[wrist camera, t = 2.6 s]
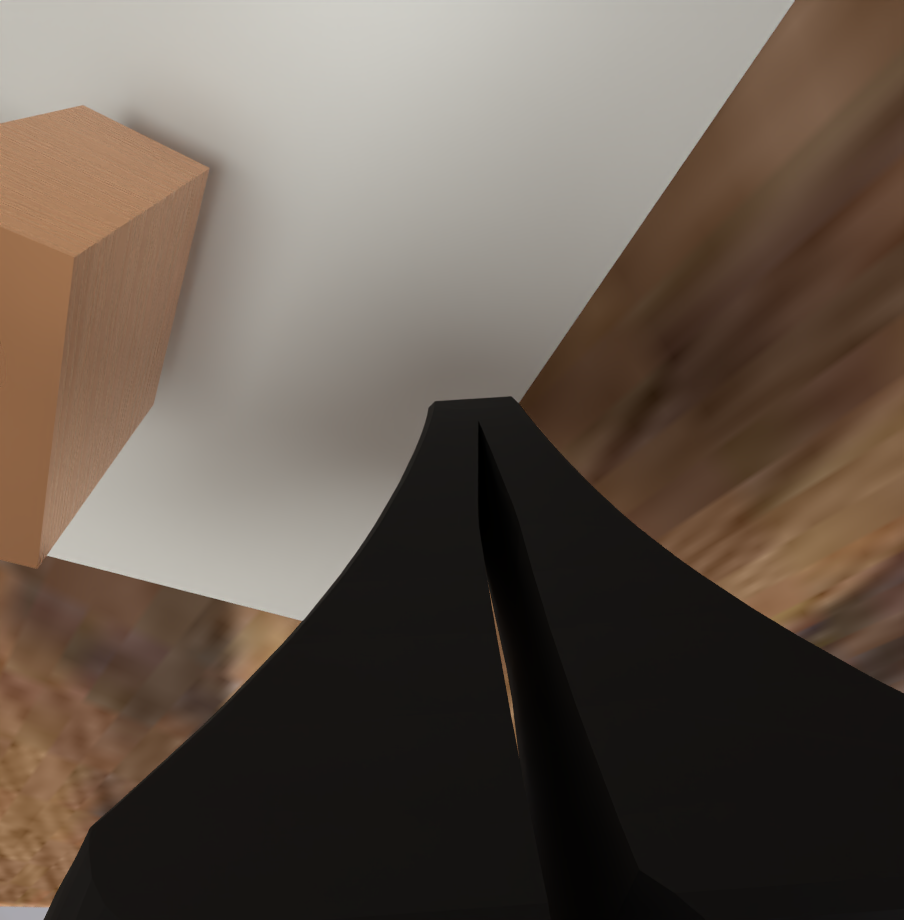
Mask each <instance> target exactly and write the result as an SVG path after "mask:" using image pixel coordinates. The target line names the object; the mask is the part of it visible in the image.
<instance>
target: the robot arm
mask: <svg viewBox="0 0 904 920" xmlns="http://www.w3.org/2000/svg"><path fill="white" fill-rule="evenodd" d="M487 580H488V581H487ZM488 585H489V587H488ZM489 590H490V593H489ZM490 594H491V599H492V603H493V608H494V612H495V617H496V622H497V626H498V631H499V635H500V640H501V645H502V649H503V654H504V658H505V663H506V668H507V673H508V679H509V684H510V690H511V696H512V703H513V711H514V719H515V727H516V735H517V743H518V749H517V744H516V739H515V734H514V729H513V723H512V718H511V713H510V708H509V702H508V696H507V691H506V685H505V680H504V674H503V669H502V663H501V657H500V652H499V646H498V641H497V635H496V629H495V623H494V617H493V611H492V605H491V599H490ZM518 752H519V754H518ZM44 920H904V693H902V692H900V691H898V690H896V689H894V688H892V687H890V686H888V685H886V684H884V683H882V682H880V681H878V680H876V679H874V678H873V677H871V676H869V675H867V674H865V673H863V672H861V671H860V670H858V669H856V668H854V667H853V666H851V665H849V664H847V663H845V662H844V661H842V660H840V659H838V658H837V657H835V656H833V655H831V654H829V653H828V652H826V651H824V650H822V649H821V648H819V647H817V646H815V645H813V644H812V643H810V642H808V641H806V640H805V639H803V638H801V637H799V636H797V635H796V634H794V633H792V632H791V631H789V630H788V629H786V628H784V627H783V626H781V625H779V624H778V623H776V622H774V621H773V620H771V619H769V618H768V617H766V616H764V615H763V614H761V613H759V612H758V611H756V610H755V609H753V608H751V607H750V606H748V605H747V604H745V603H744V602H742V601H741V600H739V599H738V598H736V597H735V596H733V595H732V594H730V593H728V592H727V591H725V590H724V589H722V588H721V587H719V586H718V585H716V584H715V583H713V582H712V581H710V580H709V579H707V578H706V577H704V576H703V575H701V574H700V573H698V572H697V571H696V570H694V569H693V568H691V567H690V566H688V565H687V564H686V563H684V562H683V561H681V560H680V559H679V558H677V557H676V556H675V555H673V554H672V553H671V552H669V551H668V550H667V549H665V548H664V547H663V546H662V545H660V544H659V543H658V542H656V541H655V540H654V539H652V538H651V537H650V536H649V535H647V534H646V533H645V532H643V531H642V530H641V529H640V528H638V527H637V526H636V525H635V524H634V523H632V522H631V521H630V520H629V519H628V518H627V517H626V516H624V515H623V514H622V513H621V512H620V511H619V510H618V509H616V508H615V507H614V506H613V505H612V504H611V503H610V502H609V501H608V500H607V499H606V498H604V497H603V496H602V495H601V494H600V493H599V492H598V491H597V490H596V489H595V488H594V487H593V486H592V485H591V484H590V483H589V482H588V481H587V480H586V479H585V478H584V477H583V476H582V475H581V474H580V473H579V472H578V471H577V470H576V469H575V468H574V467H573V466H572V465H571V464H570V463H569V462H568V461H567V460H566V459H565V458H564V456H563V455H562V454H561V453H560V452H559V451H558V450H557V449H556V448H555V447H554V446H553V445H552V443H551V442H550V441H549V440H548V439H547V438H546V436H545V435H544V434H543V433H542V432H541V431H540V429H539V428H538V427H537V426H536V425H535V423H534V422H533V421H532V420H531V419H530V417H529V416H528V415H527V414H526V412H525V411H524V410H523V408H522V407H521V406H520V404H519V403H518V402H517V401H516V400H515V399H514V398H513V397H512V396H507V397H491V398H475V399H460V400H444V401H435V402H434V403H433V404H432V405H431V406H430V407H429V408H428V413H427V417H426V421H425V424H424V427H423V430H422V433H421V436H420V438H419V441H418V443H417V446H416V448H415V450H414V453H413V455H412V457H411V459H410V461H409V463H408V465H407V467H406V469H405V471H404V473H403V476H402V478H401V480H400V482H399V483H398V485H397V487H396V489H395V491H394V492H393V494H392V496H391V498H390V499H389V501H388V503H387V505H386V506H385V508H384V510H383V511H382V513H381V515H380V517H379V518H378V520H377V522H376V523H375V525H374V526H373V528H372V530H371V531H370V533H369V534H368V536H367V537H366V539H365V540H364V542H363V543H362V545H361V546H360V548H359V549H358V550H357V552H356V553H355V555H354V556H353V557H352V559H351V560H350V562H349V563H348V564H347V566H346V567H345V569H344V570H343V571H342V573H341V574H340V575H339V577H338V578H337V579H336V581H335V582H334V583H333V584H332V585H331V587H330V588H329V589H328V590H327V592H326V593H325V594H324V595H323V597H322V598H321V599H320V600H319V602H318V603H317V604H316V605H315V607H314V608H313V609H312V610H311V612H310V613H309V614H308V615H307V616H306V618H305V619H304V620H303V621H302V622H301V623H300V625H299V626H298V627H297V628H296V629H295V630H294V631H293V633H292V634H291V635H290V636H289V637H288V638H287V639H286V640H285V642H284V643H283V644H282V645H281V646H280V647H279V648H278V649H277V650H276V651H275V652H274V653H273V654H272V655H271V656H270V657H269V658H268V659H267V660H266V662H265V663H264V664H263V665H262V666H261V667H260V668H259V669H258V670H257V671H256V672H255V673H254V674H253V675H252V676H251V677H250V678H249V679H248V680H247V681H246V682H245V683H244V684H243V685H242V687H241V688H240V689H239V690H238V691H237V692H236V693H235V694H234V695H233V696H232V697H231V698H230V699H229V700H228V701H227V702H226V703H225V704H224V705H223V706H222V707H221V708H220V709H219V710H218V711H217V712H216V713H215V714H214V715H213V716H212V717H211V718H210V719H209V720H208V721H207V722H206V723H205V724H204V725H203V726H202V727H201V728H200V729H198V730H197V731H196V732H195V733H194V734H193V735H192V736H191V737H190V738H189V739H187V740H186V741H185V742H184V743H183V744H182V745H181V746H180V747H179V748H178V749H177V750H175V751H174V752H173V753H172V754H171V755H170V756H169V757H168V758H167V759H166V760H164V761H163V762H162V763H161V764H160V765H159V766H158V767H157V768H156V769H155V770H153V771H152V772H151V773H150V774H149V775H148V776H147V777H146V778H145V779H144V780H143V781H141V782H140V783H139V784H138V785H137V786H136V787H135V788H134V789H133V790H132V791H130V792H129V793H128V794H127V795H126V796H125V797H124V798H123V799H122V800H121V801H119V802H118V803H117V804H116V805H115V806H114V807H113V808H112V809H110V810H109V811H108V812H107V813H106V814H105V815H104V816H103V817H101V818H100V819H99V820H98V821H97V822H96V823H95V824H94V825H92V826H91V828H90V829H89V831H88V833H87V835H86V837H85V840H84V842H83V844H82V846H81V848H80V850H79V852H78V854H77V856H76V858H75V860H74V862H73V864H72V865H71V867H70V869H69V871H68V873H67V874H66V876H65V878H64V880H63V882H62V883H61V885H60V887H59V889H58V891H57V892H56V895H55V897H54V899H53V901H52V903H51V905H50V907H49V910H48V912H47V914H46V916H45V918H44Z"/></svg>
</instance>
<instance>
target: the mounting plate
mask: <svg viewBox="0 0 904 920" xmlns="http://www.w3.org/2000/svg"><path fill="white" fill-rule="evenodd" d="M794 1H795V0H0V123H4V122H9V121H13V120H18V119H22V118H27V117H31V116H36V115H41V114H45V113H50V112H54V111H59V110H63V109H68V108H72V107H77V106H81V105H84V106H86V107H88V108H90V109H92V110H94V111H96V112H98V113H100V114H102V115H104V116H106V117H108V118H110V119H112V120H114V121H116V122H118V123H120V124H122V125H124V126H126V127H128V128H130V129H132V130H134V131H136V132H138V133H140V134H142V135H144V136H146V137H148V138H150V139H152V140H154V141H156V142H158V143H160V144H162V145H164V146H166V147H168V148H170V149H172V150H174V151H176V152H178V153H181V154H183V155H185V156H187V157H189V158H191V159H193V160H195V161H197V162H199V163H201V164H203V165H205V166H207V167H209V168H210V169H209V173H208V177H207V181H206V186H205V190H204V194H203V198H202V202H201V207H200V211H199V215H198V219H197V224H196V228H195V232H194V236H193V240H192V245H191V249H190V253H189V257H188V261H187V266H186V270H185V274H184V278H183V282H182V287H181V291H180V295H179V299H178V304H177V308H176V312H175V316H174V320H173V325H172V329H171V333H170V337H169V341H168V346H167V350H166V354H165V358H164V362H163V367H162V371H161V375H160V379H159V383H158V388H157V392H156V396H155V400H154V404H153V406H152V407H151V409H150V410H149V411H148V413H147V414H146V416H145V417H144V419H143V420H142V421H141V423H140V424H139V426H138V427H137V428H136V430H135V431H134V433H133V434H132V436H131V437H130V438H129V440H128V441H127V443H126V444H125V445H124V447H123V448H122V450H121V451H120V452H119V454H118V455H117V457H116V458H115V460H114V461H113V462H112V464H111V465H110V467H109V468H108V469H107V471H106V472H105V474H104V475H103V477H102V478H101V479H100V481H99V482H98V484H97V485H96V486H95V488H94V489H93V491H92V492H91V494H90V495H89V496H88V498H87V499H86V501H85V502H84V503H83V505H82V506H81V508H80V509H79V510H78V512H77V513H76V515H75V516H74V518H73V519H72V520H71V522H70V523H69V525H68V526H67V527H66V529H65V530H64V532H63V533H62V535H61V536H60V537H59V539H58V540H57V542H56V543H55V544H54V546H53V547H52V549H51V550H50V552H49V553H48V554H47V556H51V557H55V558H59V559H63V560H66V561H70V562H74V563H78V564H82V565H86V566H90V567H94V568H98V569H102V570H106V571H109V572H113V573H117V574H121V575H125V576H129V577H133V578H137V579H141V580H145V581H149V582H152V583H156V584H160V585H164V586H168V587H172V588H176V589H180V590H184V591H188V592H192V593H195V594H199V595H203V596H207V597H211V598H215V599H219V600H223V601H227V602H231V603H234V604H238V605H242V606H246V607H250V608H254V609H258V610H262V611H266V612H270V613H274V614H277V615H281V616H285V617H289V618H293V619H297V620H301V621H303V620H304V619H305V618H306V616H307V615H308V614H309V613H310V612H311V610H312V609H313V608H314V607H315V605H316V604H317V603H318V602H319V600H320V599H321V598H322V597H323V595H324V594H325V593H326V592H327V590H328V589H329V588H330V587H331V585H332V584H333V583H334V582H335V581H336V579H337V578H338V577H339V575H340V574H341V573H342V571H343V570H344V569H345V567H346V566H347V564H348V563H349V562H350V560H351V559H352V557H353V556H354V555H355V553H356V552H357V550H358V549H359V548H360V546H361V545H362V543H363V542H364V540H365V539H366V537H367V536H368V534H369V533H370V531H371V530H372V528H373V526H374V525H375V523H376V522H377V520H378V518H379V517H380V515H381V513H382V511H383V510H384V508H385V506H386V505H387V503H388V501H389V499H390V498H391V496H392V494H393V492H394V491H395V489H396V487H397V485H398V483H399V482H400V480H401V478H402V476H403V473H404V471H405V469H406V467H407V465H408V463H409V461H410V459H411V457H412V455H413V453H414V450H415V448H416V446H417V443H418V441H419V438H420V436H421V433H422V430H423V427H424V424H425V421H426V417H427V413H428V408H429V407H430V406H431V405H432V404H433V403H434V402H435V401H444V400H460V399H475V398H491V397H507V396H512V397H513V398H514V399H515V400H516V401H517V402H518V403H519V402H520V401H521V399H522V398H523V396H524V395H525V393H526V392H527V390H528V389H529V387H530V386H531V384H532V383H533V382H534V380H535V379H536V377H537V376H538V374H539V373H540V371H541V370H542V368H543V367H544V366H545V364H546V363H547V361H548V360H549V358H550V357H551V355H552V354H553V352H554V351H555V349H556V348H557V347H558V345H559V344H560V342H561V341H562V339H563V338H564V336H565V335H566V333H567V332H568V331H569V329H570V328H571V326H572V325H573V323H574V322H575V320H576V319H577V317H578V316H579V314H580V313H581V312H582V310H583V309H584V307H585V306H586V304H587V303H588V301H589V300H590V298H591V297H592V296H593V294H594V293H595V291H596V290H597V288H598V287H599V285H600V284H601V282H602V281H603V279H604V278H605V277H606V275H607V274H608V272H609V271H610V269H611V268H612V266H613V265H614V263H615V262H616V261H617V259H618V258H619V256H620V255H621V253H622V252H623V250H624V249H625V247H626V246H627V244H628V243H629V242H630V240H631V239H632V237H633V236H634V234H635V233H636V231H637V230H638V228H639V227H640V226H641V224H642V223H643V221H644V220H645V218H646V217H647V215H648V214H649V212H650V211H651V209H652V208H653V207H654V205H655V204H656V202H657V201H658V199H659V198H660V196H661V195H662V193H663V192H664V191H665V189H666V188H667V186H668V185H669V183H670V182H671V180H672V179H673V177H674V176H675V174H676V173H677V172H678V170H679V169H680V167H681V166H682V164H683V163H684V161H685V160H686V158H687V157H688V156H689V154H690V153H691V151H692V150H693V148H694V147H695V145H696V144H697V142H698V141H699V139H700V138H701V137H702V135H703V134H704V132H705V131H706V129H707V128H708V126H709V125H710V123H711V122H712V121H713V119H714V118H715V116H716V115H717V113H718V112H719V110H720V109H721V107H722V106H723V104H724V103H725V102H726V100H727V99H728V97H729V96H730V94H731V93H732V91H733V90H734V88H735V87H736V86H737V84H738V83H739V81H740V80H741V78H742V77H743V75H744V74H745V72H746V71H747V69H748V68H749V67H750V65H751V64H752V62H753V61H754V59H755V58H756V56H757V55H758V53H759V52H760V51H761V49H762V48H763V46H764V45H765V43H766V42H767V40H768V39H769V37H770V36H771V34H772V33H773V32H774V30H775V29H776V27H777V26H778V24H779V23H780V21H781V20H782V18H783V17H784V16H785V14H786V13H787V11H788V10H789V8H790V7H791V5H792V4H793V2H794Z"/></svg>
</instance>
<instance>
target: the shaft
mask: <svg viewBox="0 0 904 920" xmlns="http://www.w3.org/2000/svg"><path fill="white" fill-rule="evenodd" d="M209 169H210V168H209V167H207V166H205V165H203V164H201V163H199V162H197V161H195V160H193V159H191V158H189V157H187V156H185V155H183V154H181V153H178V152H176V151H174V150H172V149H170V148H168V147H166V146H164V145H162V144H160V143H158V142H156V141H154V140H152V139H150V138H148V137H146V136H144V135H142V134H140V133H138V132H136V131H134V130H132V129H130V128H128V127H126V126H124V125H122V124H120V123H118V122H116V121H114V120H112V119H110V118H108V117H106V116H104V115H102V114H100V113H98V112H96V111H94V110H92V109H90V108H88V107H86V106H84V105H81V106H77V107H72V108H68V109H63V110H59V111H54V112H50V113H45V114H41V115H36V116H31V117H27V118H22V119H18V120H13V121H9V122H4V123H0V560H4V561H8V562H12V563H16V564H20V565H24V566H28V567H32V568H36V569H37V568H38V567H39V566H40V564H41V563H42V561H43V560H44V559H45V557H46V556H47V554H48V553H49V552H50V550H51V549H52V547H53V546H54V544H55V543H56V542H57V540H58V539H59V537H60V536H61V535H62V533H63V532H64V530H65V529H66V527H67V526H68V525H69V523H70V522H71V520H72V519H73V518H74V516H75V515H76V513H77V512H78V510H79V509H80V508H81V506H82V505H83V503H84V502H85V501H86V499H87V498H88V496H89V495H90V494H91V492H92V491H93V489H94V488H95V486H96V485H97V484H98V482H99V481H100V479H101V478H102V477H103V475H104V474H105V472H106V471H107V469H108V468H109V467H110V465H111V464H112V462H113V461H114V460H115V458H116V457H117V455H118V454H119V452H120V451H121V450H122V448H123V447H124V445H125V444H126V443H127V441H128V440H129V438H130V437H131V436H132V434H133V433H134V431H135V430H136V428H137V427H138V426H139V424H140V423H141V421H142V420H143V419H144V417H145V416H146V414H147V413H148V411H149V410H150V409H151V407H152V406H153V404H154V400H155V396H156V392H157V388H158V383H159V379H160V375H161V371H162V367H163V362H164V358H165V354H166V350H167V346H168V341H169V337H170V333H171V329H172V325H173V320H174V316H175V312H176V308H177V304H178V299H179V295H180V291H181V287H182V282H183V278H184V274H185V270H186V266H187V261H188V257H189V253H190V249H191V245H192V240H193V236H194V232H195V228H196V224H197V219H198V215H199V211H200V207H201V202H202V198H203V194H204V190H205V186H206V181H207V177H208V173H209Z"/></svg>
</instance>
